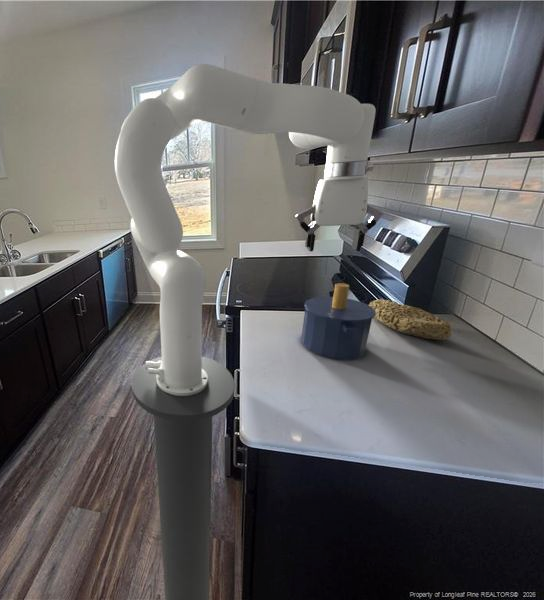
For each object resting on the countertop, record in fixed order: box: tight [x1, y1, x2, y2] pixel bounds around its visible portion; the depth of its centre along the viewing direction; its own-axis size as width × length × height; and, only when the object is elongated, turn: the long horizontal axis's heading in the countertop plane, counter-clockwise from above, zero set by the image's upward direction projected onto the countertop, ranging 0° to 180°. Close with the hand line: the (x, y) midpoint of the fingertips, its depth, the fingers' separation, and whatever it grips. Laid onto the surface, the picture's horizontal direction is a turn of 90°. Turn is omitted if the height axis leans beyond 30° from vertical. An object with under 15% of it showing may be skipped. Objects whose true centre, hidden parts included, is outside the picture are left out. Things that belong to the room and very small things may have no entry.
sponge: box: [368, 298, 452, 341], centre depth 89 cm, size 13×8×20 cm
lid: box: [303, 282, 376, 322], centre depth 80 cm, size 16×16×7 cm
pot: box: [300, 308, 373, 361], centre depth 83 cm, size 15×20×10 cm
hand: (332, 250), depth 74 cm, fingers open, 9 cm apart
